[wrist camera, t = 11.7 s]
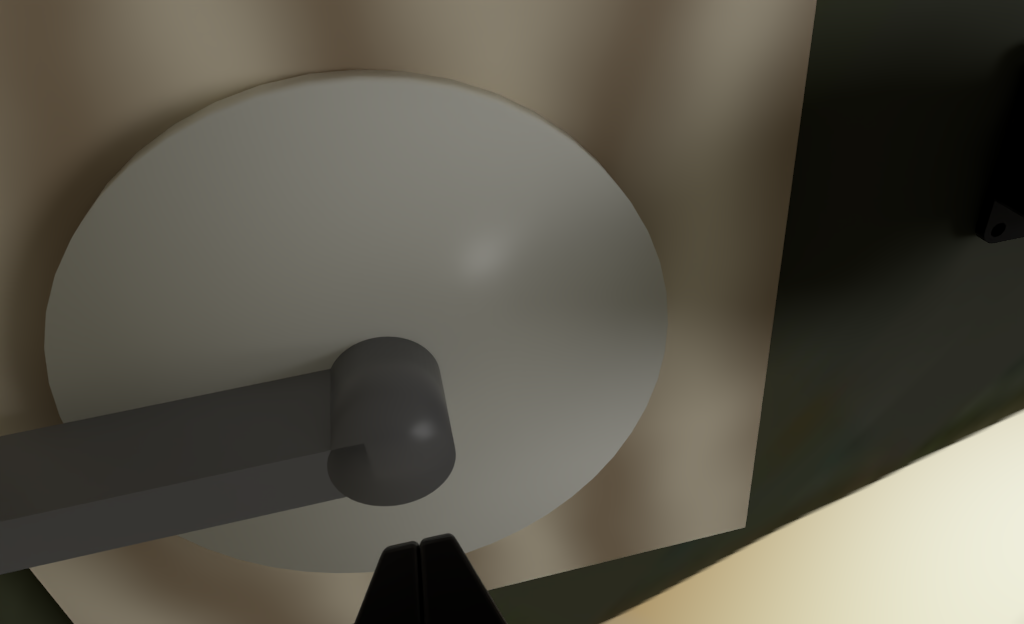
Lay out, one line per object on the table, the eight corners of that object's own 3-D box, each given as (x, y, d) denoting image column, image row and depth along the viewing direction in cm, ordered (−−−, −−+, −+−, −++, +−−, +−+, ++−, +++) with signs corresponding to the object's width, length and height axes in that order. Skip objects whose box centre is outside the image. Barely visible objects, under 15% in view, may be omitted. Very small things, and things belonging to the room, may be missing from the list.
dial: (661, 17, 17) (740, 66, 13) (651, 486, 26) (697, 582, 23) (-220, 158, 15) (-376, 256, 11) (114, 611, 24) (80, 737, 21)
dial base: (807, -218, 16) (851, -221, 15) (728, 498, 30) (747, 530, 29) (-399, -63, 13) (-479, -49, 12) (129, 641, 27) (118, 684, 26)
